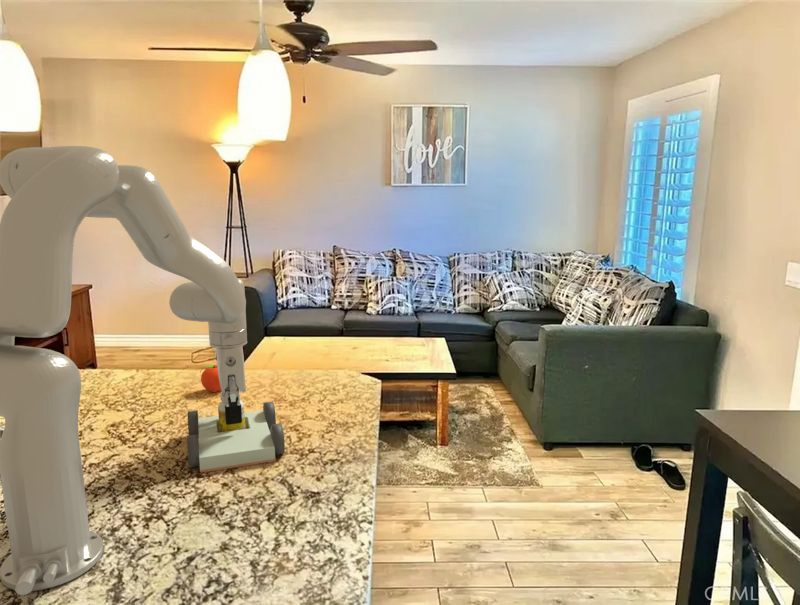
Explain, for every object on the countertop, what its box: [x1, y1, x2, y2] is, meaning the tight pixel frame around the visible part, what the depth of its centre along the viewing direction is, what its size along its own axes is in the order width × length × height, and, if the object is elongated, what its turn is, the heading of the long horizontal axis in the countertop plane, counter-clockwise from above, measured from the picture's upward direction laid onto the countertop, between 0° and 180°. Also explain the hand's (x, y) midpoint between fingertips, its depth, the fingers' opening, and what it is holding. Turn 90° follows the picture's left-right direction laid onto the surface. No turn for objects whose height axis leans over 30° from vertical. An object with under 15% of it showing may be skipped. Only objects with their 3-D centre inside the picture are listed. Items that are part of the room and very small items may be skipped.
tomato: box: [199, 364, 221, 393], centre depth 150 cm, size 8×7×7 cm
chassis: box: [186, 401, 286, 473], centre depth 118 cm, size 20×18×6 cm
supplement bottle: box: [217, 391, 246, 432], centre depth 121 cm, size 5×5×10 cm
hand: (232, 414), depth 122 cm, fingers open, 9 cm apart
